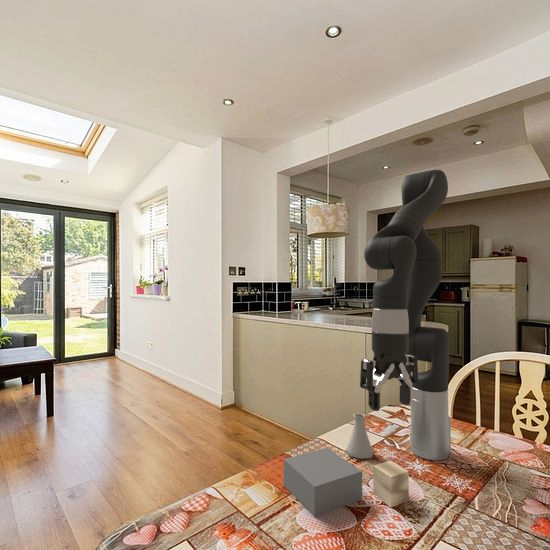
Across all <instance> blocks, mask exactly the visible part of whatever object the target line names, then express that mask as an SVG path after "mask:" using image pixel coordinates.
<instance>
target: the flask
mask: <svg viewBox="0 0 550 550" xmlns="http://www.w3.org/2000/svg"><path fill="white" fill-rule="evenodd" d="M353 418H354V421H353V422H354V423H353V429H352V431H351V432H352V433H351V434H350V438H349V441H348V443H347V446H346V448H345V452H346V454H347V455H348V457H352V458H355V459H359V460H363V459H364V460H366V459H372V457H373V456H374V453H375V452H374V451H373V448H372V445H371V442H370V439H369V436H368V433H367V429H366V423H365V422H366V421H365V420H366V414H365V413H359V412H357V413H353Z"/></svg>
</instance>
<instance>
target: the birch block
mask: <svg viewBox="0 0 550 550" xmlns="http://www.w3.org/2000/svg"><path fill="white" fill-rule="evenodd" d="M409 475H410V474H409V470H407V469H405V468H404V467H402V466H400V465H398V464H397V463H395V462H394V461H392V460H387V461H384V462H382V463H378V464H374V465H372V476H373V477H372V483H373V484H372V485H373V486H372V489H373V490H372V491H373V492H372V494H373V495H374V496H375V497H376V496H377V497H376V498H378V499H379V500H380V501H382V502H383V503H384V504H386V505H387V506H388V507H390V508H393V507H396V506H398V505H401V504H403V503H406V502H409V500H410V498H409V495H410V494H409V493H410V492H409V491H410V490H409V487H410V485H409V483H410V481H409V478H410V477H409Z"/></svg>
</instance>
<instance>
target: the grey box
mask: <svg viewBox="0 0 550 550" xmlns="http://www.w3.org/2000/svg"><path fill="white" fill-rule="evenodd" d="M283 487H285V488H286V490H287V491H288V492H290V494H291V495H292V496H293V497H294V498H295V499H296V500H297V501H298V502H299V503H300V504H301V505H302V506H303V507H304V508H305V509H306V510H307V511H308V512H309V514H310V515H312V516H313V518H315V517H319V516H320V515H321V516H322V515H324V514H327V513H329V512H331V511H334V510H337V509H340V508H343V507H345V506H348V505H350V504H353V503H357V502H359V501H361V500H363V471H362V470H361V469H359V468H358V467H357V466H355V465H354V464H352V463H351V462H349V461H347V460H346V459H345V458H343V456H340V455H339V454H337V453H336V452H335V451H334V450H332V449H330V448H329V447H324V448H321V449H317V450H312V451H309V452H306V453H305V452H304V453H301V454H297V455H294V456H291V457H286V458H283ZM326 512H327V513H326ZM318 515H319V516H318Z"/></svg>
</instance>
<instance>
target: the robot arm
mask: <svg viewBox="0 0 550 550" xmlns="http://www.w3.org/2000/svg"><path fill="white" fill-rule="evenodd" d="M448 192H449V182H448V179H447V175H446V173H445V172H444V171H443V170H441V169H429V170H426V171H425V170H424V171H420V172H415V173H412V174H407V175H405V176H404V178H403V179H402V182H401V202H402V203H401V204H402V207H401V208H399V210H397V212H396V213H395V214H394V215H393V217H392V218H391V220H390V221H389V223H388V224H387V225H386V226H385V227H383V228H382V229H380V230H379V231H378V232H377V233H375V234H374V235H373V236H372V237H371V238H370V239H369V240H368V242H367V243H366V245H365V247H364V253H363V257H364V260H365V263H366V265H367V266H368V267H369V268H370V269H372V270H376V271H377V270H378V271H380V270H381V271H383V270H384V271H386V270H387V271H388V270H389V271H390V270H393V274H392V275H391V277H390V278H388V279H383V280H380V281H377V282H375V283H374V284H373V287H372V288H373V289H372V316H371V350H372V352H373V357H372V359H365V358H362V359H361V362H360V373H359V374H360V377H359V387H360V388H362V389H364V390H366V391H368V392H367V393H368V396H367V397H368V402H367V403H368V404H367V405H368V407H369V408H370V409H371V410H372V411H374V412H378V411H380V408H381V399H380V397H381V393H380V390H381V388H382V386H383V385H385V384H386V382H387V381H388V380H392V379H396V380H397V381H398V382H399V384H400V385H399V402H400V403H401V404H402V405H404V406H408V405H410V450H411V452H412V453H413V454H414V455H416V456H418V457H420V458H422V459H425V460H430V461H444V460H447V459H448V458H449V455H450V454H451V453H452V448H451V447H452V446H451V445H452V444H451V443H452V442H451V441H452V438H451V437H452V436H451V435H452V432H451V431H452V429H451V425H452V423H451V417H450V415H449V378H450V377H449V374H450V372H449V371H450V368H449V367H450V350H451V349H450V348H451V346H450V345H451V342H450V335H449V333H448V331H447V330H446V329H445V328H441V327H428V326H422V324H421V323H422V317H423V312H424V309H425V307H426V305H427V304H428V302H429V300H430V298H431V297H432V296H433V294H434V293H435V292H436V291H437V288H438V287H439V285H440V283H441V280H442V274H443V273H442V253H441V250H440V249H439V247H438V246H437V244H436V242H435V241H434V240H433V239H432V238H431V236H430V234H429V233H428V232H427V231H426V229H425V227H424V224H425V223H426V222H427V221H428V219H430V217H432V215H433V214H434V213H435V212H436V211H437V210H438V209H439V208H440V207H441V206H442V205H443V203H445V201H446V199H447V196H448ZM418 361H420V362H425V363H431V367H430V369H429V370H425V371H420V372H419V366H418Z"/></svg>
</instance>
